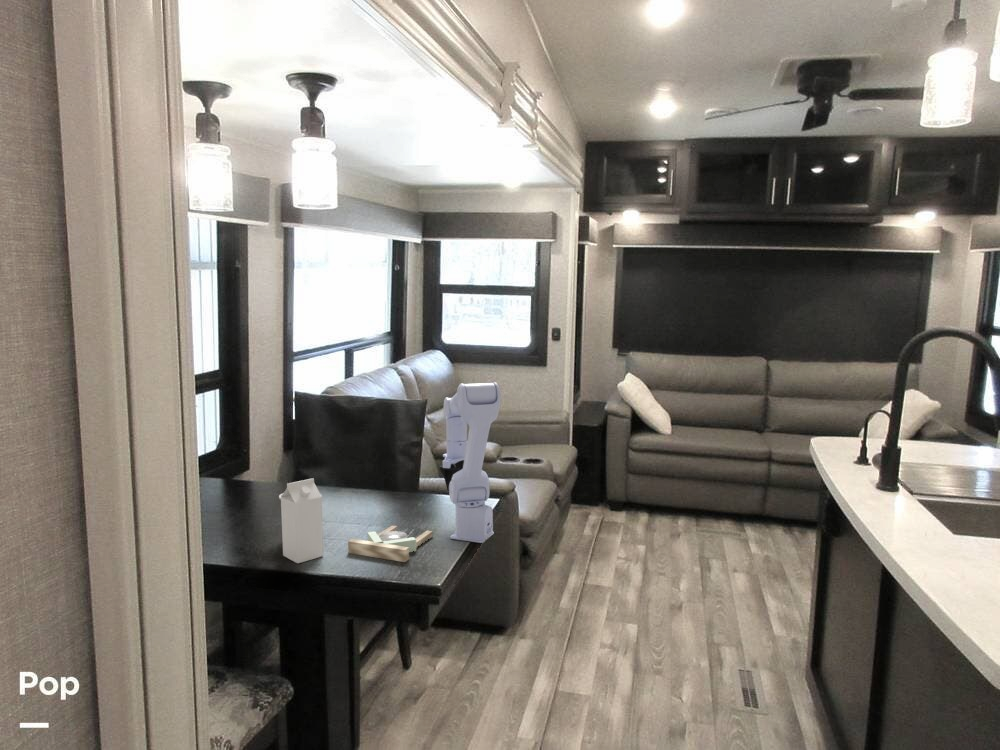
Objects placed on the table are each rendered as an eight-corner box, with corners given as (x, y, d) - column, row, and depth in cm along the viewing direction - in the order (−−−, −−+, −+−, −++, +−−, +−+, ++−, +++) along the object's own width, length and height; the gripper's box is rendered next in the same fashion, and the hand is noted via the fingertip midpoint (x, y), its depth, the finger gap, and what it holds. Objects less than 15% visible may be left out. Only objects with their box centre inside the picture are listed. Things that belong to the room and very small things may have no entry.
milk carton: (282, 556, 173) (279, 480, 171) (309, 548, 178) (306, 475, 176) (297, 564, 168) (294, 486, 166) (323, 556, 173) (321, 481, 171)
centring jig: (438, 537, 186) (438, 526, 186) (405, 562, 170) (404, 550, 169) (386, 529, 192) (385, 519, 192) (348, 552, 176) (348, 541, 175)
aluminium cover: (412, 544, 182) (411, 533, 182) (398, 553, 175) (398, 542, 175) (388, 540, 184) (388, 529, 184) (374, 550, 178) (373, 538, 178)
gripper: (454, 433, 206) (454, 479, 208) (432, 444, 192) (432, 492, 194) (476, 435, 203) (476, 481, 205) (455, 446, 190) (456, 495, 192)
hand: (457, 487), depth 200 cm, fingers open, 7 cm apart
